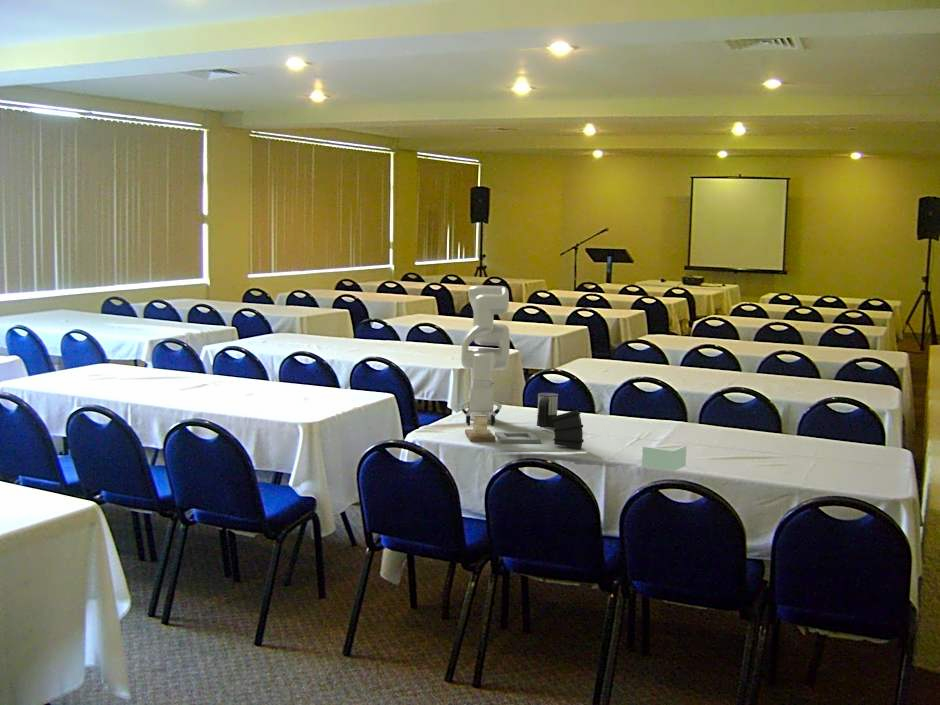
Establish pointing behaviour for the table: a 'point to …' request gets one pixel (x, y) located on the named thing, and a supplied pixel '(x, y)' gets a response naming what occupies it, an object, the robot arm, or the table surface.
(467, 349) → the robot arm
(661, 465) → the right angle wall
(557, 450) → the table surface
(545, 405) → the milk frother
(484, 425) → the maple block
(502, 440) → the pocket plate
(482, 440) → the walnut board
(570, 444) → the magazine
